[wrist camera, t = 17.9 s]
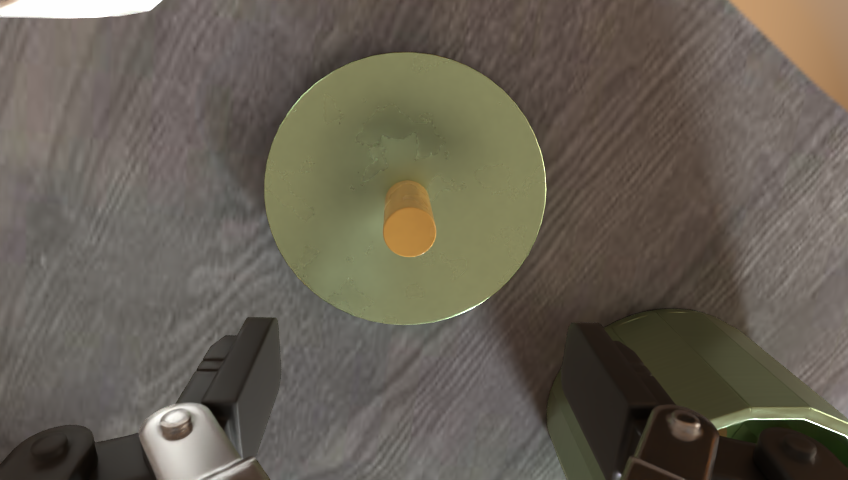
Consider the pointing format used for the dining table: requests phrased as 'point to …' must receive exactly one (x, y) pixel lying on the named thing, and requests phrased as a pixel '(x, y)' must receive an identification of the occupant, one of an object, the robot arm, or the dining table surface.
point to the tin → (705, 386)
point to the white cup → (73, 8)
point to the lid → (405, 188)
